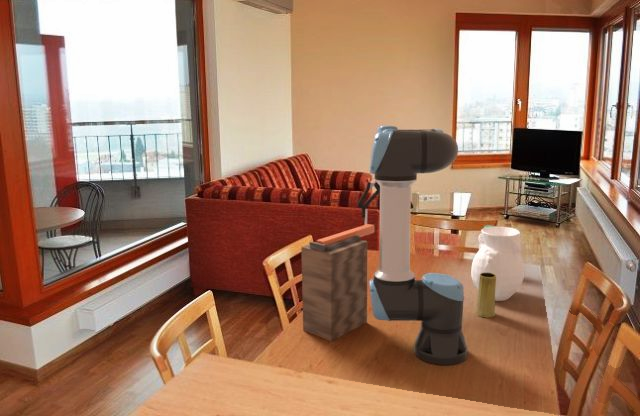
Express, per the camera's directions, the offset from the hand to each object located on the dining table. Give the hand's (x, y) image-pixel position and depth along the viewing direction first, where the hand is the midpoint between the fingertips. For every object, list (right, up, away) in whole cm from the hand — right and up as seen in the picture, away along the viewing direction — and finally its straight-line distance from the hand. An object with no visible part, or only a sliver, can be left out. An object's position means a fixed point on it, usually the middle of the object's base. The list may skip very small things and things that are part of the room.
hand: (384, 227), depth 206 cm
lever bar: (-15, -3, -23) cm, 28 cm away
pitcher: (+41, -26, +3) cm, 49 cm away
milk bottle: (+45, -20, +27) cm, 56 cm away
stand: (-19, -32, -21) cm, 42 cm away
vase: (+33, -29, -14) cm, 46 cm away
